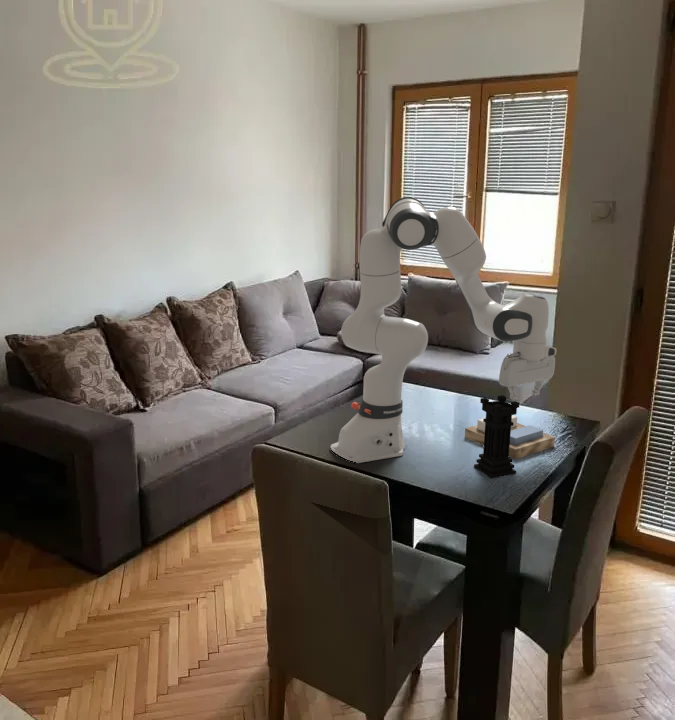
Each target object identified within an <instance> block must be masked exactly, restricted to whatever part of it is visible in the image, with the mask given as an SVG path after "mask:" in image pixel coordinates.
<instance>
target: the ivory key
mask: <svg viewBox="0 0 675 720" xmlns="http://www.w3.org/2000/svg"><path fill="white" fill-rule="evenodd" d="M485 418H486V417H483V418H480V419H477V422H476V423H477V424H476V425H477V429H478V430H481V431H483V432H485V422H483V419H485ZM511 422H513V426H511V428H512V427H515V426H517V423H518V416H515V415H512V421H511Z"/></svg>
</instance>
